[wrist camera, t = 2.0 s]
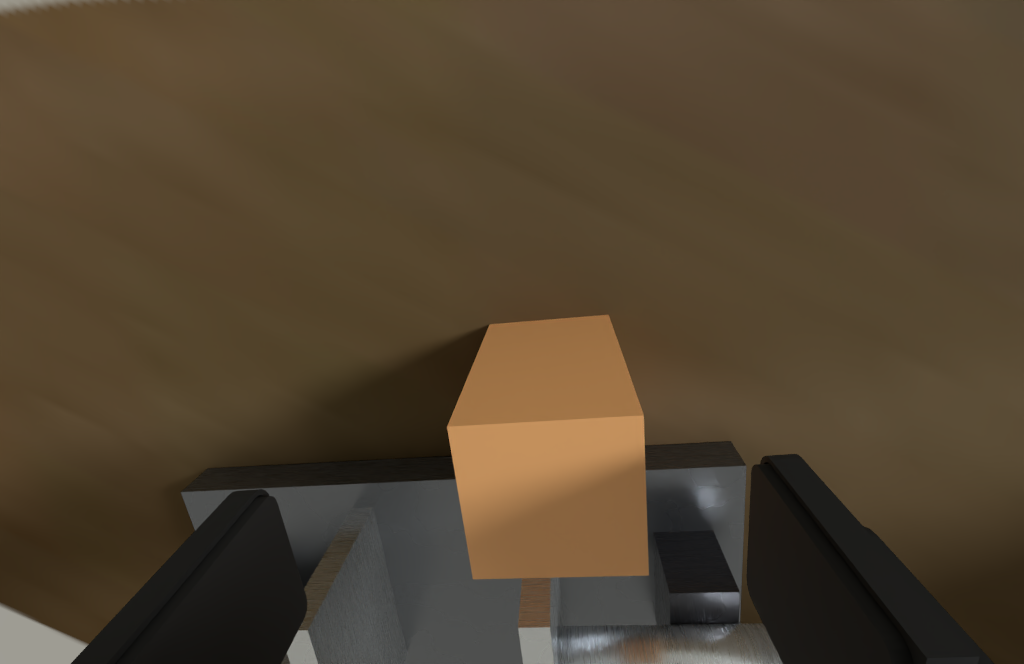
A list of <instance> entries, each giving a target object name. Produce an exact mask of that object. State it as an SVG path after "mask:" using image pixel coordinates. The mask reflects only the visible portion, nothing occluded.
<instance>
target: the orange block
mask: <svg viewBox="0 0 1024 664" xmlns="http://www.w3.org/2000/svg"><path fill="white" fill-rule="evenodd" d="M447 430H448V436H449V442H450V447H451V453H452V459H453V465H454V471H455V477H456V483H457V489H458V494H459V500H460V506H461V512H462V518H463V524H464V530H465V536H466V541H467V547H468V553H469V559H470V565H471V571H472V577H473V579H512V578H557V577H602V576H647V575H649V563H648V532H647V501H646V471H645V440H644V415H643V412H642V409H641V406H640V403H639V400H638V398H637V395H636V392H635V389H634V386H633V383H632V380H631V378H630V375H629V372H628V369H627V366H626V363H625V360H624V358H623V355H622V352H621V349H620V346H619V343H618V340H617V338H616V335H615V332H614V329H613V326H612V323H611V320H610V318H609V315H599V316H587V317H575V318H563V319H551V320H538V321H526V322H514V323H502V324H490V325H489V327H488V329H487V332H486V334H485V337H484V339H483V341H482V344H481V346H480V349H479V351H478V353H477V356H476V358H475V361H474V363H473V365H472V368H471V370H470V373H469V375H468V377H467V380H466V382H465V385H464V387H463V390H462V392H461V394H460V397H459V399H458V402H457V404H456V406H455V409H454V411H453V414H452V416H451V418H450V421H449V423H448V426H447Z"/></svg>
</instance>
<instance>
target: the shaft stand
mask: <svg viewBox="0 0 1024 664" xmlns="http://www.w3.org/2000/svg"><path fill="white" fill-rule="evenodd" d="M645 471H646V501H647V532H648V563H649V575H647V576H602V577H557V578H512V579H473V577H472V571H471V565H470V559H469V553H468V547H467V541H466V536H465V530H464V524H463V518H462V512H461V506H460V500H459V494H458V489H457V483H456V477H455V471H454V465H453V459H452V456H441V457H422V458H403V459H384V460H365V461H346V462H326V463H307V464H288V465H269V466H250V467H230V468H211V469H207V470H206V471H204V472H203V473H202V474H201V475H200V476H199V477H198V478H196V479H195V480H194V481H193V482H192V483H191V484H189V485H188V486H187V487H186V488H185V489H184V490H183V491H181V494H182V497H183V500H184V502H185V505H186V508H187V510H188V513H189V516H190V518H191V521H192V524H193V526H194V529H195V531H196V529H197V528H198V527H199V526H200V525H201V524H202V523H203V522H204V521H205V520H206V519H207V518H208V517H209V516H210V514H211V513H212V512H213V511H214V510H215V509H216V508H217V507H218V506H219V505H220V504H221V503H222V502H223V501H224V500H225V498H226V497H227V496H228V495H229V494H231V493H232V492H234V491H242V490H257V489H263V490H266V491H267V492H268V494H269V496H273V497H274V498H275V499H276V501H277V503H278V506H279V509H280V513H281V516H282V519H283V522H284V525H285V529H286V532H287V535H288V538H289V542H290V545H291V548H292V551H293V555H294V558H295V561H296V564H297V568H298V571H299V574H300V577H301V581H302V584H303V587H304V590H305V593H306V597H307V611H306V615H305V618H304V620H303V622H302V624H301V626H300V628H299V630H298V632H297V634H296V636H295V638H294V640H293V642H292V644H291V646H290V648H289V649H288V651H287V653H286V655H285V657H284V659H283V661H282V663H281V664H783V663H782V661H781V659H780V657H779V655H778V653H777V651H776V649H775V646H774V644H773V642H772V640H771V638H770V636H769V634H768V632H767V630H766V628H765V626H764V624H763V623H759V624H740V611H741V586H742V561H743V536H744V511H745V486H746V464H745V463H744V461H743V460H742V458H741V457H740V455H739V453H738V452H737V450H736V449H735V447H734V446H733V444H732V442H731V441H729V442H710V443H691V444H672V445H652V446H645Z"/></svg>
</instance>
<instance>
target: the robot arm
mask: <svg viewBox="0 0 1024 664" xmlns="http://www.w3.org/2000/svg"><path fill="white" fill-rule="evenodd" d="M747 586H748V590H749V594H750V597H751V599H752V601H753V604H754V606H755V608H756V610H757V612H758V614H759V616H760V618H761V620H762V622H763V624H764V626H765V628H766V630H767V632H768V634H769V636H770V638H771V640H772V642H773V644H774V646H775V649H776V651H777V653H778V655H779V657H780V659H781V661H782V663H783V664H994V663H993V662H992V661H991V660H990V659H989V658H988V656H987V655H986V654H985V653H984V652H983V651H982V650H981V649H980V648H979V647H978V645H977V644H976V643H975V642H974V641H973V640H972V639H971V638H970V637H969V636H968V634H967V633H966V632H965V631H964V630H963V629H962V628H961V627H960V626H959V625H958V623H957V622H956V621H955V620H954V619H953V618H952V617H951V616H950V615H949V614H948V613H947V611H946V610H945V609H944V608H943V607H942V606H941V605H940V604H939V603H938V602H937V600H936V599H935V598H934V597H933V596H932V595H931V594H930V593H929V592H928V591H927V589H926V588H925V587H924V586H923V585H922V584H921V583H920V582H919V581H918V580H917V579H916V577H915V576H914V575H913V574H912V573H911V572H910V571H909V570H908V569H907V568H906V566H905V565H904V564H903V563H902V562H901V561H900V560H899V559H898V558H897V557H896V555H895V554H894V553H893V552H892V551H891V550H890V549H889V548H888V547H887V546H886V545H885V543H884V542H883V541H882V540H881V539H880V538H879V537H878V536H877V535H876V534H875V533H874V532H873V531H872V530H870V529H869V528H866V527H864V526H862V525H861V524H860V523H859V521H858V520H857V519H856V518H855V517H854V516H853V515H852V514H851V512H850V511H849V510H848V509H847V508H846V507H845V506H844V505H843V504H842V502H841V501H840V500H839V499H838V498H837V497H836V496H835V495H834V493H833V492H832V491H831V490H830V489H829V488H828V487H827V486H826V485H825V483H824V482H823V481H822V480H821V479H820V478H819V477H818V476H817V474H816V473H815V472H814V471H813V470H812V469H811V468H810V467H809V466H808V464H807V463H806V462H805V461H804V460H803V459H802V458H801V457H800V456H799V455H797V454H788V455H773V456H764V457H763V458H762V460H761V464H758V465H754V466H753V467H752V472H751V493H750V515H749V536H748V558H747ZM306 611H307V597H306V593H305V590H304V587H303V584H302V581H301V577H300V574H299V571H298V568H297V564H296V561H295V558H294V555H293V551H292V548H291V545H290V542H289V538H288V535H287V532H286V529H285V525H284V522H283V519H282V516H281V513H280V509H279V506H278V503H277V501H276V499H275V498H274V497H273V496H269V494H268V492H267V491H266V490H263V489H257V490H242V491H234V492H232V493H231V494H229V495H228V496H227V497H226V498H225V500H224V501H223V502H222V503H221V504H220V505H219V506H218V507H217V508H216V509H215V510H214V511H213V512H212V513H211V514H210V516H209V517H208V518H207V519H206V520H205V521H204V522H203V523H202V524H201V525H200V526H199V527H198V528H197V529H196V531H195V532H194V533H193V534H192V535H191V536H190V537H189V538H188V539H187V540H186V541H185V542H184V543H183V544H182V545H181V547H180V548H179V549H178V550H177V551H176V552H175V553H174V554H173V555H172V556H171V557H170V558H169V559H168V560H167V561H166V563H165V564H164V565H163V566H162V567H161V568H160V569H159V570H158V571H157V572H156V573H155V574H154V575H153V576H152V577H151V579H150V580H149V581H148V582H147V583H146V584H145V585H144V586H143V587H142V588H141V589H140V590H139V591H138V592H137V594H136V595H135V596H134V597H133V598H132V599H131V600H130V601H129V602H128V603H127V604H126V605H125V606H124V607H123V608H122V610H121V611H120V612H119V613H118V614H117V615H116V616H115V617H114V618H113V619H112V620H111V621H110V622H109V623H108V625H107V626H106V627H105V628H104V629H103V630H102V631H101V632H100V633H99V634H98V635H97V636H96V637H95V638H94V639H93V641H92V642H91V643H90V644H89V645H88V646H87V647H86V648H85V649H84V650H83V651H82V652H81V653H80V655H78V657H77V658H76V659H75V660H74V661H73V662H72V663H71V664H281V663H282V661H283V659H284V657H285V655H286V653H287V651H288V649H289V648H290V646H291V644H292V642H293V640H294V638H295V636H296V634H297V632H298V630H299V628H300V626H301V624H302V622H303V620H304V618H305V615H306Z"/></svg>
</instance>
